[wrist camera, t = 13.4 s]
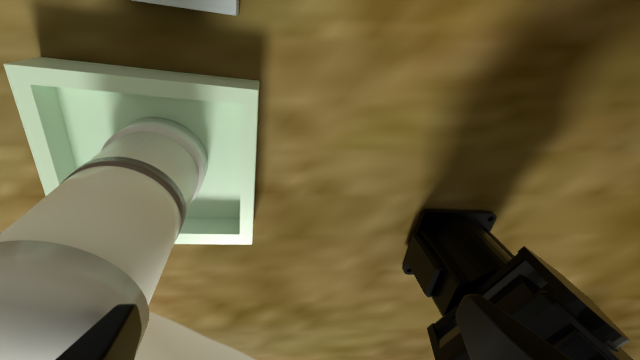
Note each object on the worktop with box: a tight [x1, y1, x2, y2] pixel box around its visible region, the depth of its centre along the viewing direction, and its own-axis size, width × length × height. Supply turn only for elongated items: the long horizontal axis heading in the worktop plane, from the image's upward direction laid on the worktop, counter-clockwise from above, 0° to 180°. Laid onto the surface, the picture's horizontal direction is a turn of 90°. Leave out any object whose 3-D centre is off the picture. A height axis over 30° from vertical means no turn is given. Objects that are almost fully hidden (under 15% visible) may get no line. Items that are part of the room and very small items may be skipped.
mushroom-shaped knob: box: [0, 117, 208, 360], centre depth 13 cm, size 5×5×12 cm
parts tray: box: [4, 57, 259, 244], centre depth 18 cm, size 11×10×2 cm
